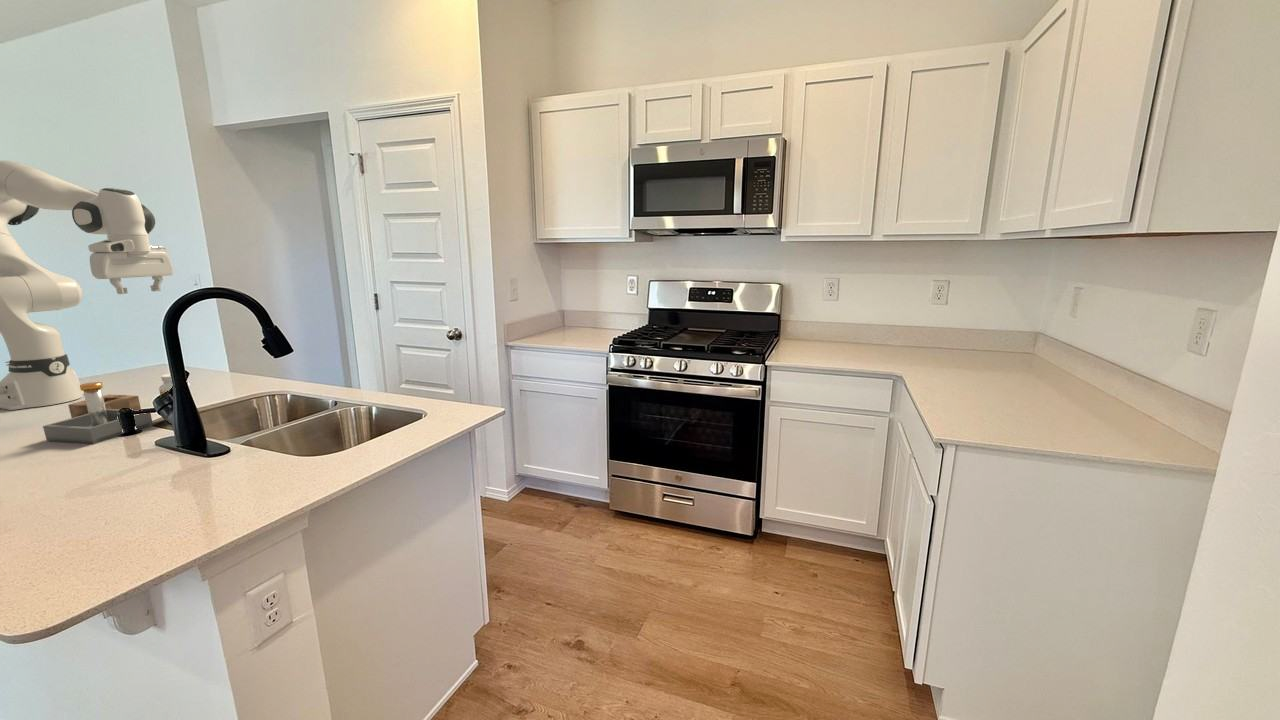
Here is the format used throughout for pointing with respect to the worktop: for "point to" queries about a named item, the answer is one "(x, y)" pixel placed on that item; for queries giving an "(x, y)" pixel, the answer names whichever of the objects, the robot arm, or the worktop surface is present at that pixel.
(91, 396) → the corked glass vial
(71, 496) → the worktop surface
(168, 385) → the supplement bottle
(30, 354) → the robot arm
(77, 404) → the socket block
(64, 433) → the tray
